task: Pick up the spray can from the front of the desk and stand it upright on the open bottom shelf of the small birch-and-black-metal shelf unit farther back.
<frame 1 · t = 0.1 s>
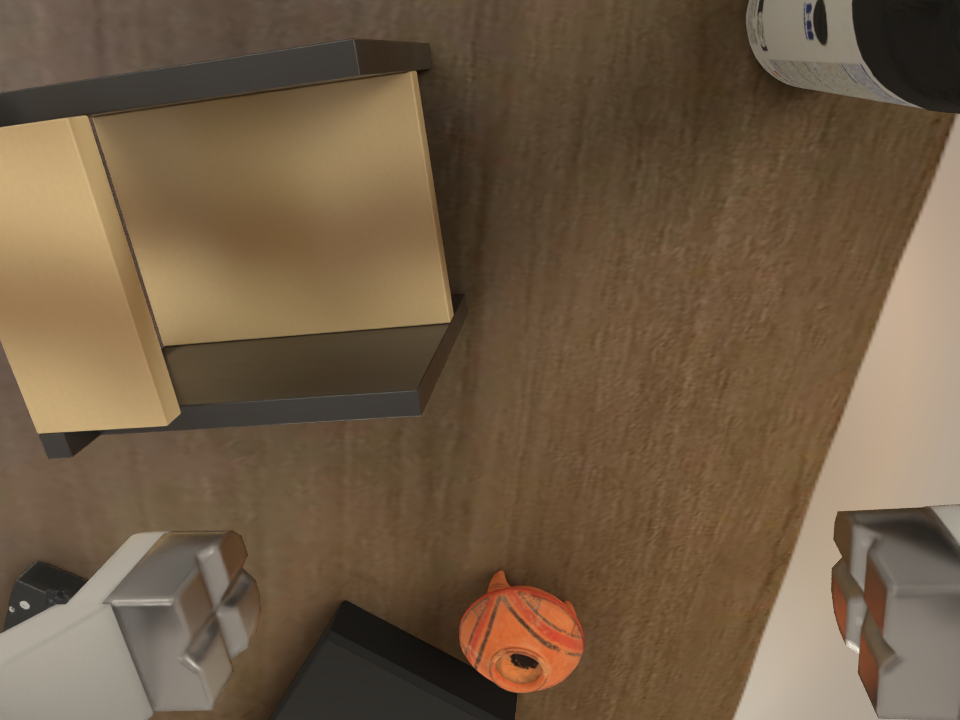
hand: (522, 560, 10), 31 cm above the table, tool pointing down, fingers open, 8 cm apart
spray can: (818, 13, 34), on the table
disk drive: (85, 648, 57), on the table
shelf: (309, 203, 41), on the table
pot: (524, 600, 50), on the table
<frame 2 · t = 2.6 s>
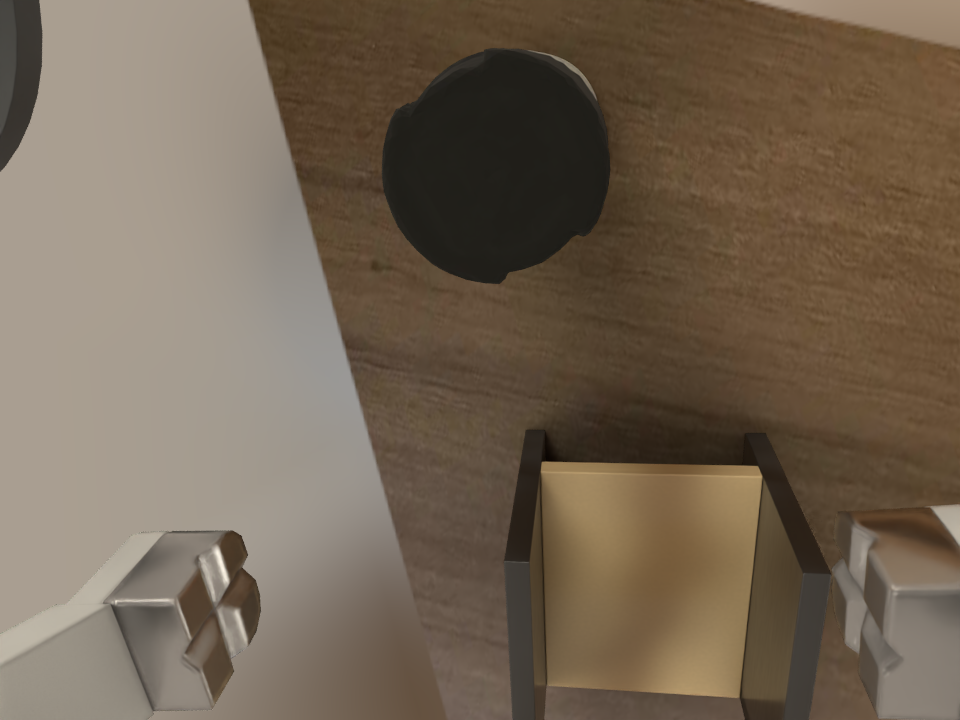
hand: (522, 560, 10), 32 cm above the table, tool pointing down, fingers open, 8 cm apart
spray can: (537, 119, 39), on the table
shelf: (639, 539, 48), on the table
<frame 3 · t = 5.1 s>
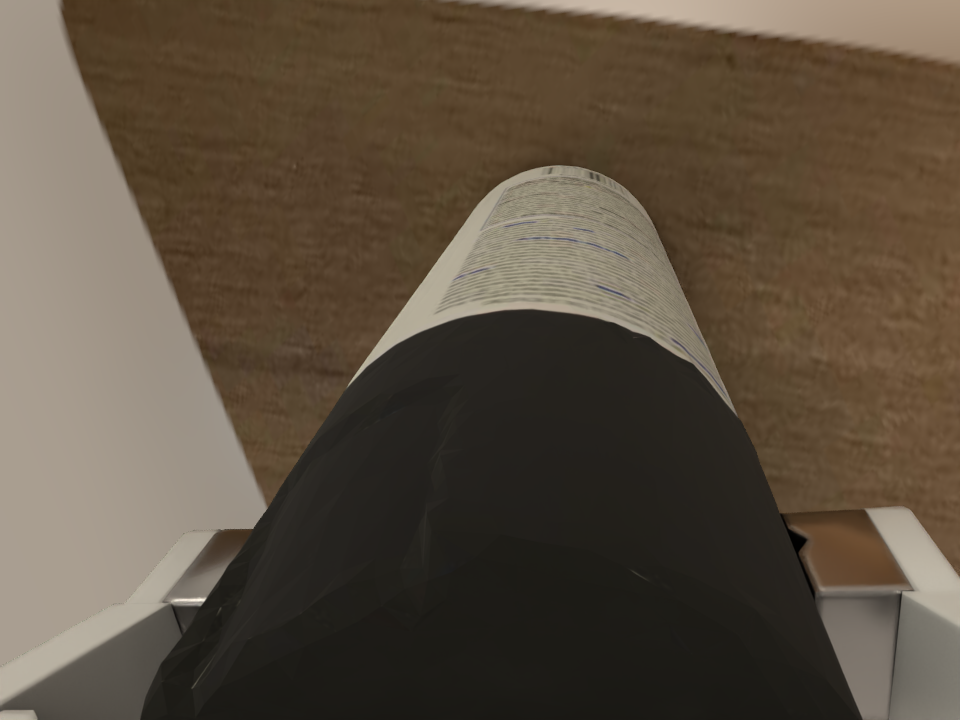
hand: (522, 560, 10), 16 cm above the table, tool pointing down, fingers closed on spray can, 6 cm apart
spray can: (559, 259, 25), on the table, touching gripper
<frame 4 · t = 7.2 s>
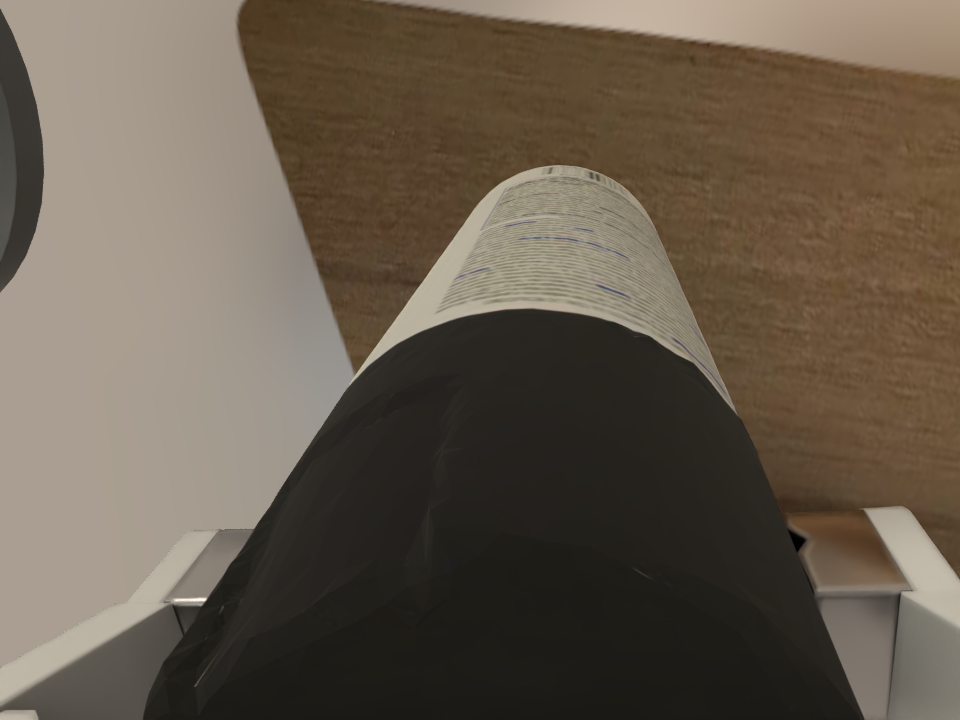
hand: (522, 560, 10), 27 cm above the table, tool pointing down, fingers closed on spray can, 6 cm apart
spray can: (559, 259, 25), point 12 cm above the table, touching gripper
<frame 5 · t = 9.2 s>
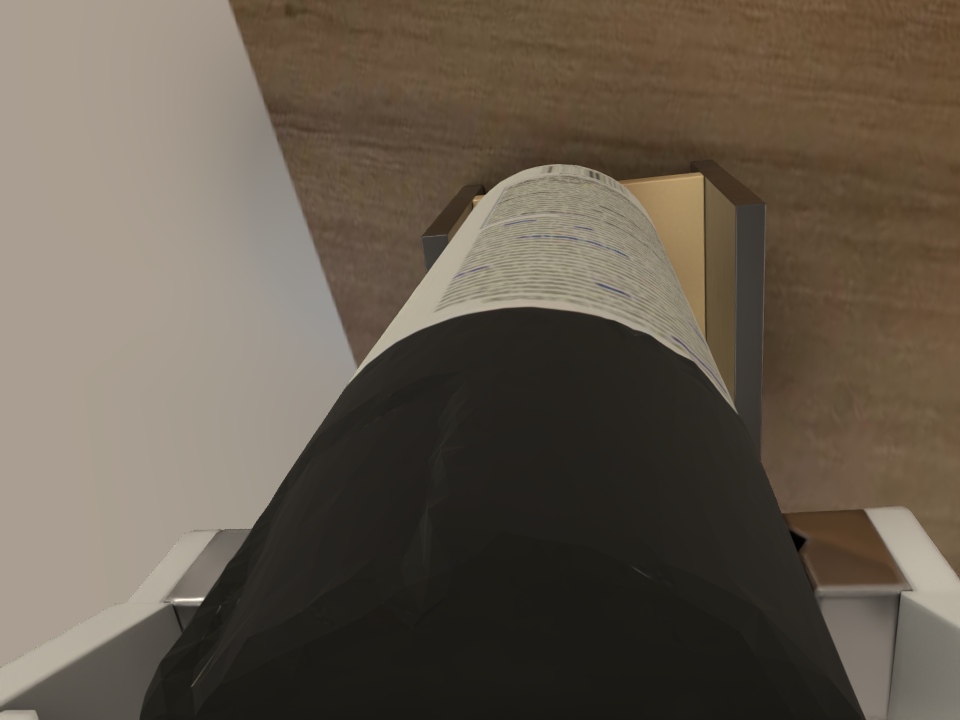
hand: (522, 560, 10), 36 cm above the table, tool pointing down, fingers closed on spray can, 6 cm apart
spray can: (559, 258, 25), point 20 cm above the table, touching gripper
shelf: (593, 303, 46), on the table
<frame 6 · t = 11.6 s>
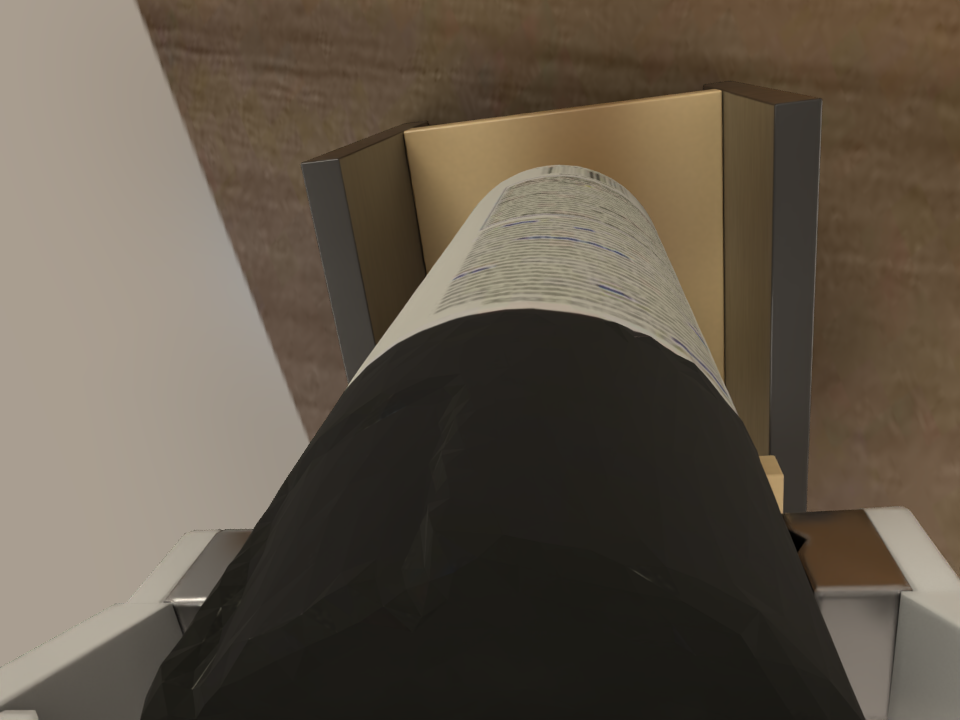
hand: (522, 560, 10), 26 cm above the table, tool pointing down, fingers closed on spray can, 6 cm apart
spray can: (559, 259, 25), point 10 cm above the table, touching gripper
shelf: (576, 278, 35), on the table
when the fingers open (21 cm above the table, at t = 13.5 s): spray can stays where it is, resting on shelf.
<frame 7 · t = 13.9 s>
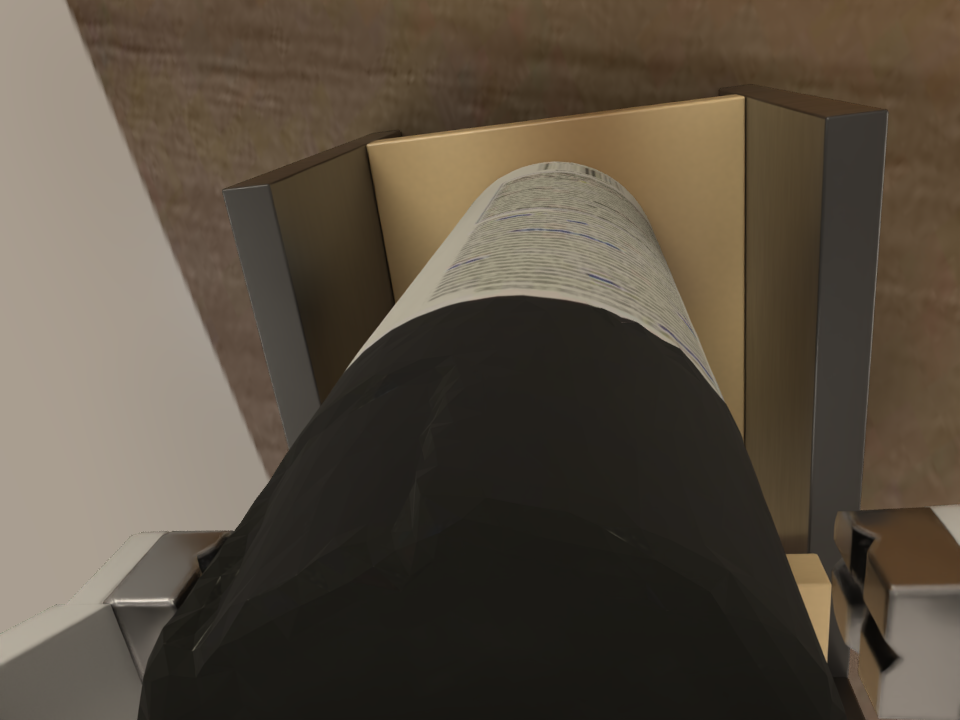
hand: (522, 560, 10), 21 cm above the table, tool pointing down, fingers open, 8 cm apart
spray can: (556, 255, 25), point 5 cm above the table, touching shelf
shelf: (571, 310, 31), on the table
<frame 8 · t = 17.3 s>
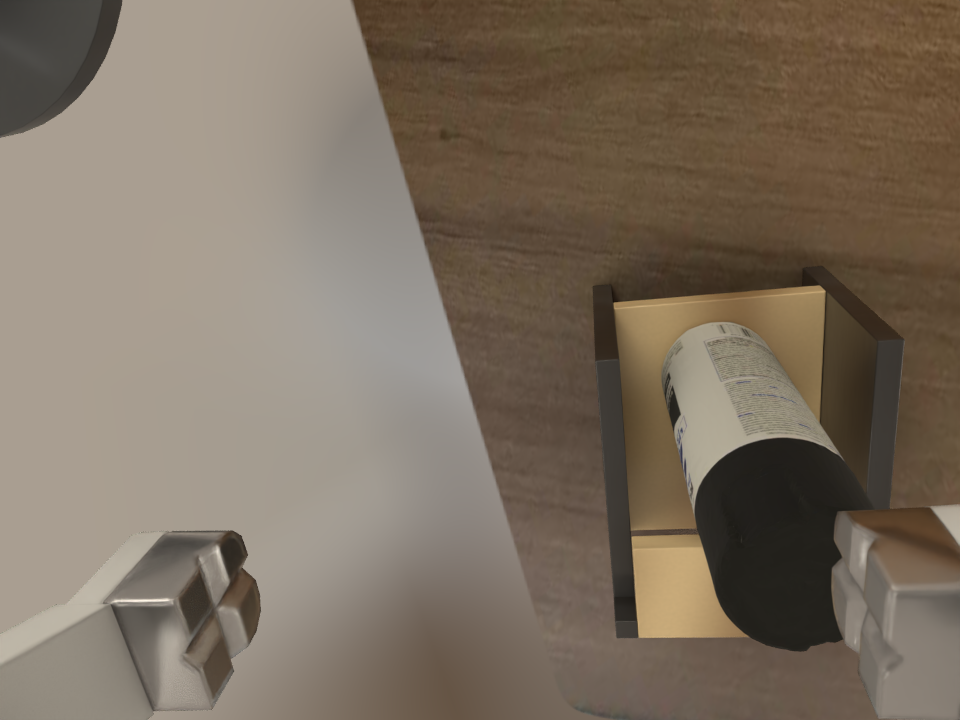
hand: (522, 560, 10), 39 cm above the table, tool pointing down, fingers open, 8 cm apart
spray can: (715, 367, 45), point 5 cm above the table, touching shelf
shelf: (706, 387, 50), on the table
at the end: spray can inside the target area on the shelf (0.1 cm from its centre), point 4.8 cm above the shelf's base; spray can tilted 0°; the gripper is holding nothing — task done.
